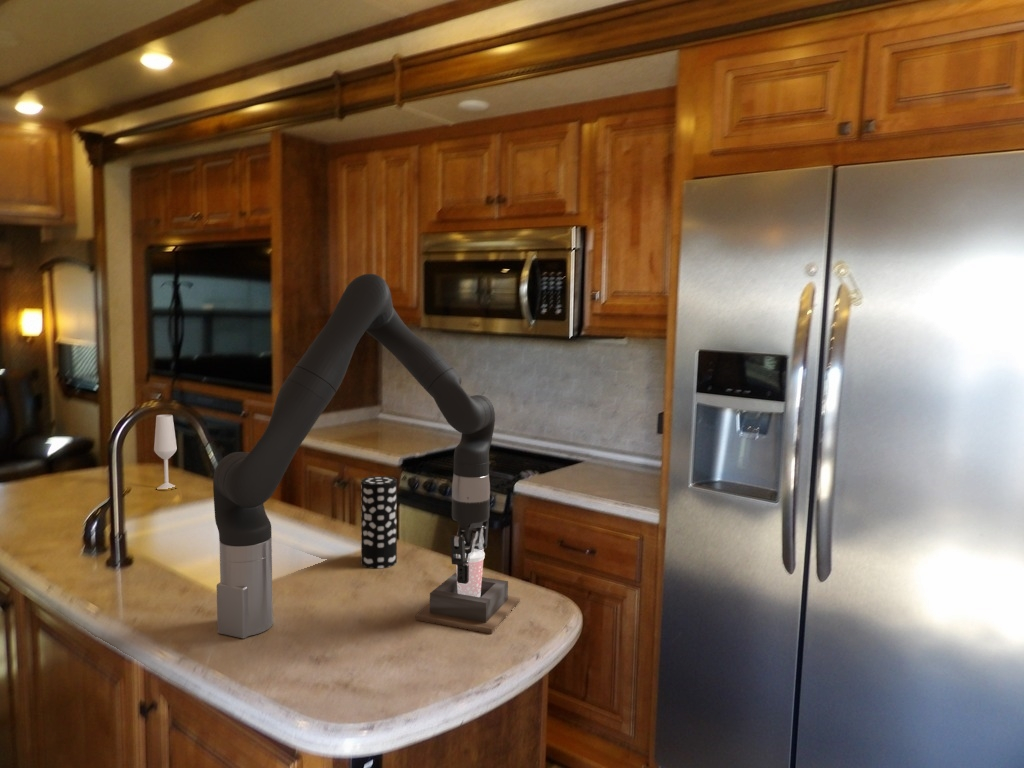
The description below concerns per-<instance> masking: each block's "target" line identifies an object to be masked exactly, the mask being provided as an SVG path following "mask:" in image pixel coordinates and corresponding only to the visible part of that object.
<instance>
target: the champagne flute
mask: <svg viewBox="0 0 1024 768" xmlns="http://www.w3.org/2000/svg"><path fill="white" fill-rule="evenodd" d="M153 444H154V445H153V452H154V453H155V454H156V455H157V457H159V458H160V459H162V460H163V469H164V471H163V475H164V483H162V484H161V485H159V486H158V487H156V488H157V489H168V488H172V487H175V486H176V485H175V484H172V483H170V482H169V480H170V479H169V459H171V457H172V456H174V454H175V453H176V452H177V449H178V448H177V438H176V431H175V424H174V416H173V414H157V415H155V431H154V443H153Z"/></svg>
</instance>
